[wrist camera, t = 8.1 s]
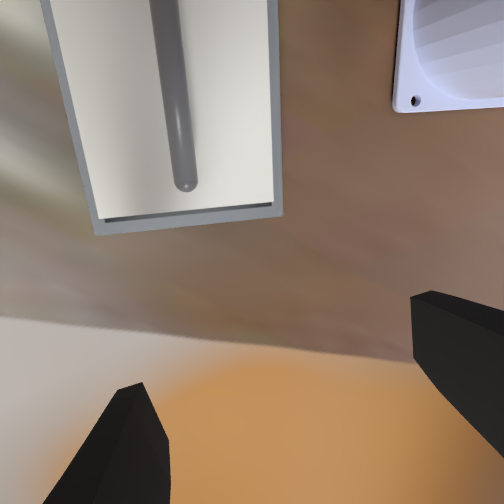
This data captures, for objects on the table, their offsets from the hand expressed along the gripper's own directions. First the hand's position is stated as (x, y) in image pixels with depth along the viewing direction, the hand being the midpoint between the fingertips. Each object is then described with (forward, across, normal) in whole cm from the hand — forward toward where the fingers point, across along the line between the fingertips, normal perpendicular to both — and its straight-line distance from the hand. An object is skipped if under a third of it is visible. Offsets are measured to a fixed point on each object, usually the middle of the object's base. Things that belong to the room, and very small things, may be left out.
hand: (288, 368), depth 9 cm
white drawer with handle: (+9, +1, -8) cm, 12 cm away
